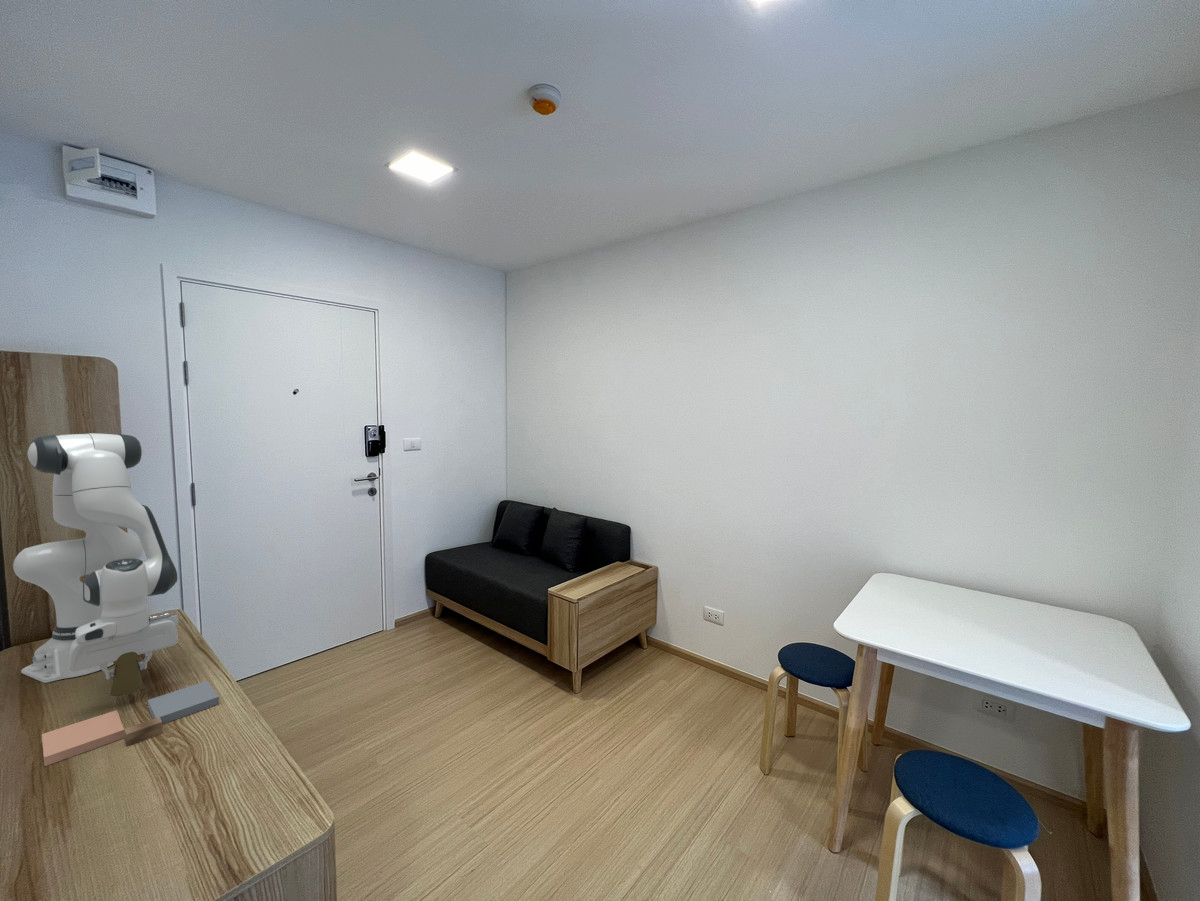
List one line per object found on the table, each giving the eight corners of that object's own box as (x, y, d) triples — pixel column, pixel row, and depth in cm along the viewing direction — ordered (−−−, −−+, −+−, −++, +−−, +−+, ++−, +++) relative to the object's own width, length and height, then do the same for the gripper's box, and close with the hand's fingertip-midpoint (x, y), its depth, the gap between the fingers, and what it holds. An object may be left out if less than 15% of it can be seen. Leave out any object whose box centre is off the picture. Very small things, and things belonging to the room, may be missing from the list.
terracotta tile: (42, 742, 107) (41, 734, 106) (117, 717, 116) (116, 709, 116) (44, 766, 99) (44, 757, 99) (124, 737, 109) (124, 729, 108)
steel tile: (147, 707, 120) (147, 700, 120) (207, 687, 130) (207, 680, 130) (156, 726, 113) (156, 718, 113) (218, 704, 122) (218, 696, 122)
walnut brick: (126, 747, 106) (126, 734, 106) (124, 741, 108) (124, 729, 108) (162, 734, 110) (162, 721, 110) (159, 728, 112) (159, 716, 112)
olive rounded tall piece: (122, 698, 119) (121, 656, 119) (104, 694, 121) (103, 653, 120) (149, 685, 125) (148, 645, 125) (131, 681, 126) (131, 642, 126)
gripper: (176, 607, 132) (176, 654, 133) (66, 630, 116) (68, 684, 117) (181, 613, 128) (181, 662, 129) (68, 638, 112) (70, 694, 113)
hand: (126, 673), depth 123 cm, fingers closed on olive rounded tall piece, 5 cm apart
